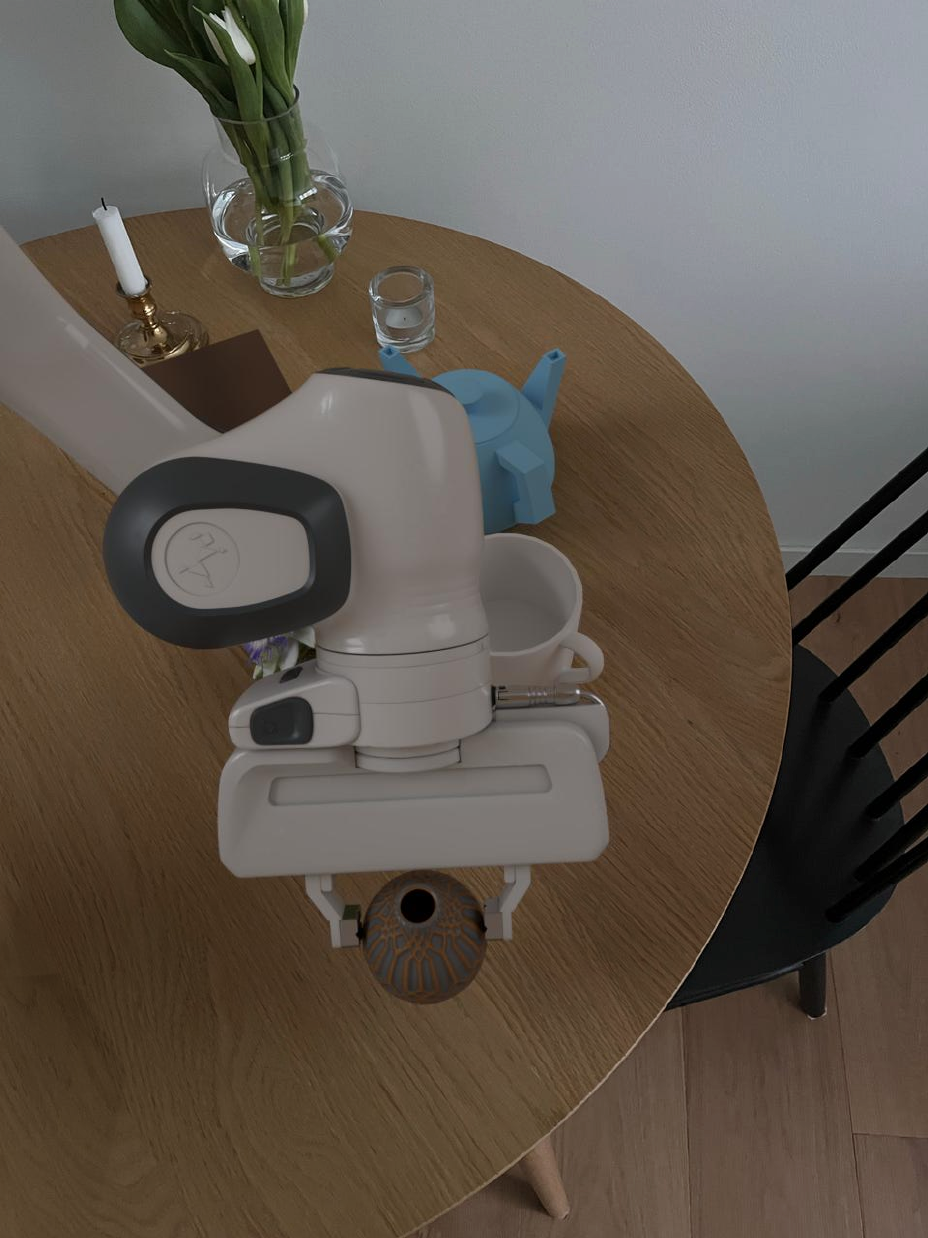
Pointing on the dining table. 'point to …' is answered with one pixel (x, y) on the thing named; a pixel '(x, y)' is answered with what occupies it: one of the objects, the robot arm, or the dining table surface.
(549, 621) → the mug
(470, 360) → the dining table surface
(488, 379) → the teapot
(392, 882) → the vase
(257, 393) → the stand
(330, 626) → the robot arm
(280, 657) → the passion flower
